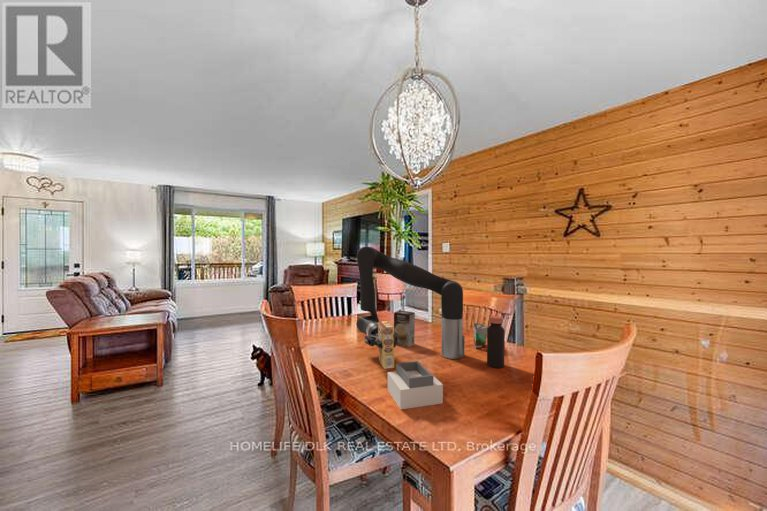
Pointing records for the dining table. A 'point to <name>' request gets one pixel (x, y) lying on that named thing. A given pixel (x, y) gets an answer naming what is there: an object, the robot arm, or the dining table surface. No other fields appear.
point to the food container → (480, 335)
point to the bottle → (495, 343)
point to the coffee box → (404, 327)
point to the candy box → (386, 344)
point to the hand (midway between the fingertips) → (387, 345)
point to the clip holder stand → (414, 386)
